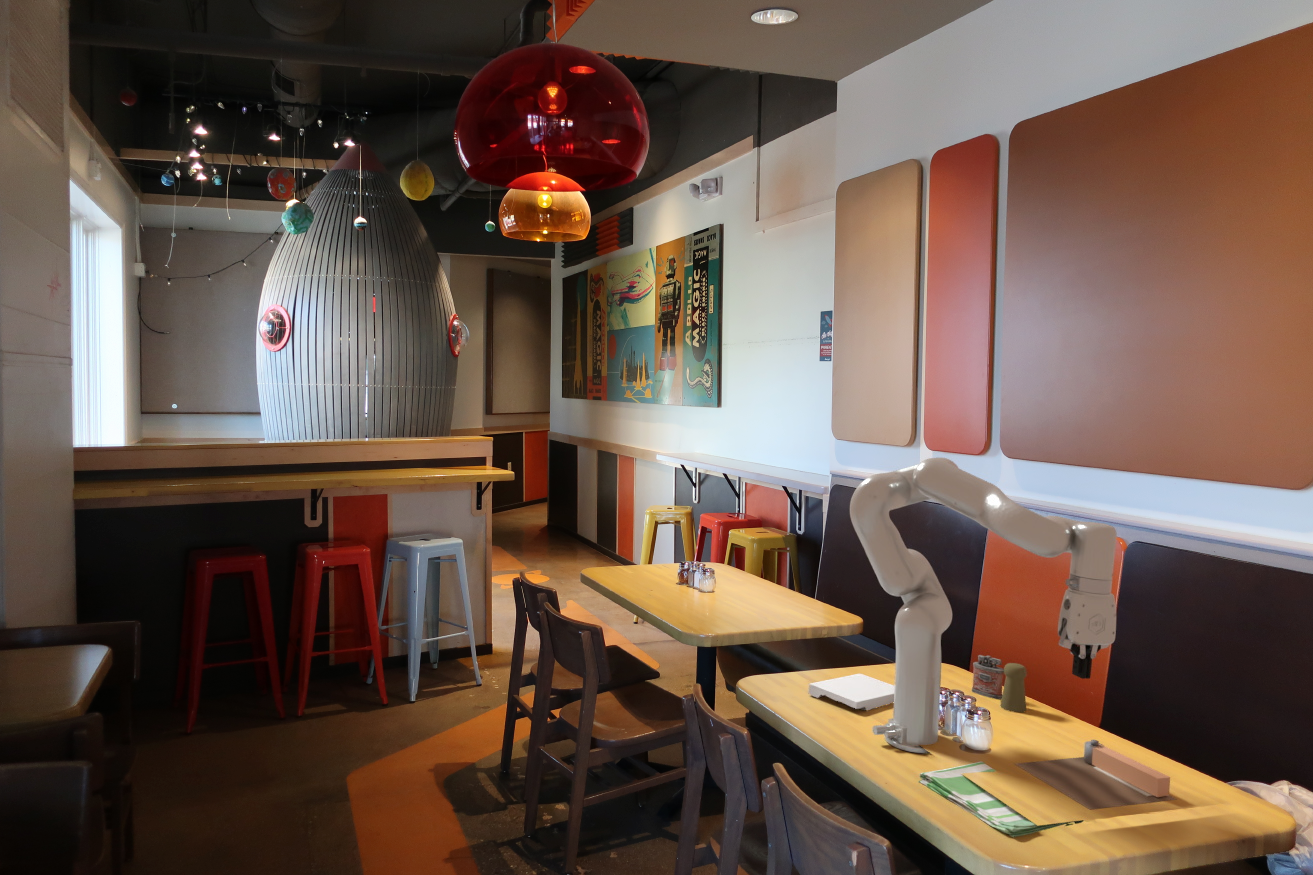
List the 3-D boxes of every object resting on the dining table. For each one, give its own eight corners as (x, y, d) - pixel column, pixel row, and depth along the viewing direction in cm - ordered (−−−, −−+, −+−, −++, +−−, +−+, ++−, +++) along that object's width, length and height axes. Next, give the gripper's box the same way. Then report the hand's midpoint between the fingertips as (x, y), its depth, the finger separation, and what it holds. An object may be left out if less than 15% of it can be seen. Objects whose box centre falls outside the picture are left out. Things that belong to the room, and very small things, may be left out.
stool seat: (1089, 817, 152) (1090, 808, 152) (1013, 770, 171) (1014, 762, 171) (1176, 806, 158) (1177, 797, 158) (1093, 762, 177) (1094, 754, 177)
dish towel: (1010, 842, 143) (1011, 826, 143) (915, 784, 164) (915, 770, 164) (1083, 824, 150) (1084, 809, 150) (983, 771, 172) (984, 758, 171)
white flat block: (858, 685, 225) (808, 696, 212) (859, 673, 224) (809, 683, 212) (906, 703, 213) (855, 716, 200) (907, 690, 213) (856, 702, 200)
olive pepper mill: (1029, 713, 206) (1031, 668, 205) (1002, 710, 207) (1005, 666, 206) (1023, 705, 212) (1025, 661, 211) (998, 702, 213) (1000, 659, 212)
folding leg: (1079, 758, 174) (1081, 738, 174) (1093, 757, 175) (1094, 736, 175) (1156, 797, 157) (1157, 774, 157) (1170, 795, 158) (1171, 772, 158)
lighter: (969, 691, 221) (971, 653, 220) (975, 688, 223) (977, 651, 223) (998, 700, 215) (1000, 661, 214) (1005, 697, 217) (1007, 659, 216)
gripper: (1070, 589, 160) (1061, 683, 161) (1136, 590, 164) (1127, 682, 165) (1044, 580, 168) (1035, 670, 169) (1107, 581, 171) (1098, 669, 172)
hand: (1080, 676), depth 167 cm, fingers closed
